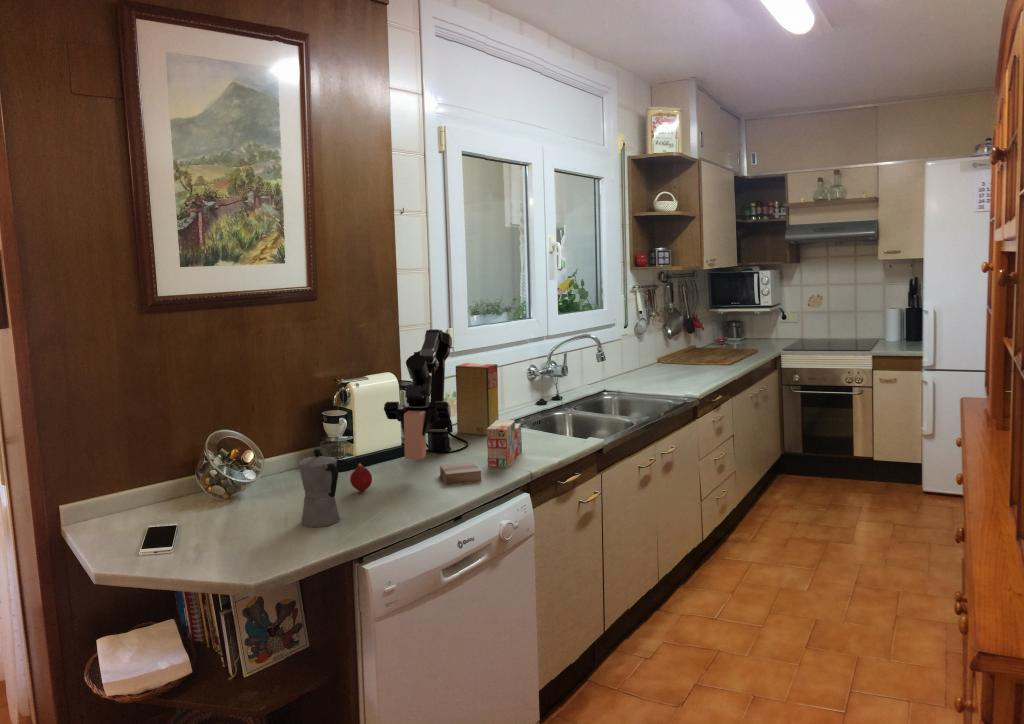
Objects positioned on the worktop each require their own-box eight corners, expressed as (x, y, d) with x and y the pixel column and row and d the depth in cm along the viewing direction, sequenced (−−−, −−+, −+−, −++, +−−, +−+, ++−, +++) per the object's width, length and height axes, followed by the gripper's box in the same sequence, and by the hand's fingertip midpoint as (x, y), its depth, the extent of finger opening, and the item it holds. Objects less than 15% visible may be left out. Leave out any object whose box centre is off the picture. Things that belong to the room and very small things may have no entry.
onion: (376, 490, 208) (375, 462, 207) (364, 496, 203) (362, 467, 202) (359, 488, 211) (357, 460, 209) (346, 494, 205) (345, 465, 204)
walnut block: (440, 476, 221) (439, 465, 221) (473, 473, 224) (473, 462, 224) (446, 486, 212) (446, 474, 211) (481, 482, 214) (481, 470, 214)
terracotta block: (409, 454, 219) (408, 410, 217) (425, 454, 219) (425, 411, 217) (404, 459, 214) (403, 414, 212) (421, 459, 214) (421, 414, 212)
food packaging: (500, 430, 279) (498, 363, 275) (489, 436, 270) (487, 367, 267) (468, 428, 284) (466, 362, 281) (456, 433, 276) (454, 365, 272)
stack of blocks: (503, 450, 250) (502, 413, 248) (522, 451, 248) (521, 414, 247) (487, 467, 229) (486, 427, 228) (507, 468, 228) (506, 428, 226)
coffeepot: (290, 519, 185) (285, 448, 183) (324, 510, 192) (320, 441, 189) (321, 535, 174) (317, 459, 172) (357, 524, 181) (353, 451, 178)
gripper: (383, 374, 218) (375, 419, 209) (447, 373, 216) (442, 419, 207) (391, 396, 227) (384, 440, 217) (453, 395, 225) (448, 440, 216)
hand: (413, 435), depth 214 cm, fingers closed on terracotta block, 5 cm apart
